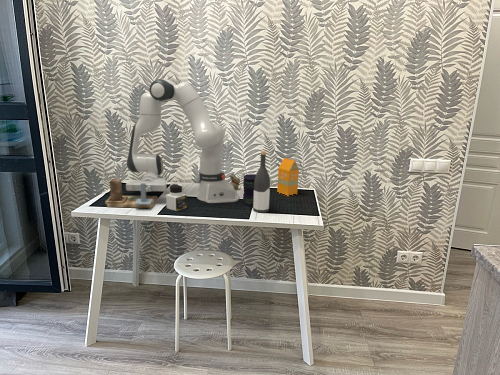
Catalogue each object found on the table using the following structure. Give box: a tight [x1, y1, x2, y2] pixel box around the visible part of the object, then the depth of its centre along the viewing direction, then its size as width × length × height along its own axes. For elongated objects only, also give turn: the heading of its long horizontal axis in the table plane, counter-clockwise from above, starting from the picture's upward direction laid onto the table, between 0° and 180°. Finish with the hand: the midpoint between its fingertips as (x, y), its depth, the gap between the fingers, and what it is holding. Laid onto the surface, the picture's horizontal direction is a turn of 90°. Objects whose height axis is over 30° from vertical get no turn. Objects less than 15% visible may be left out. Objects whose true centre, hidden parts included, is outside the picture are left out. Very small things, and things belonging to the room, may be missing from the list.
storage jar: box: [242, 173, 257, 208], centre depth 210 cm, size 10×10×15 cm
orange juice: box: [276, 157, 300, 197], centre depth 229 cm, size 8×9×20 cm
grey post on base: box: [134, 183, 153, 205], centre depth 200 cm, size 8×8×10 cm
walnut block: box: [109, 178, 123, 201], centre depth 204 cm, size 4×4×11 cm
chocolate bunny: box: [229, 172, 241, 191], centre depth 235 cm, size 6×8×10 cm
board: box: [104, 195, 158, 209], centre depth 208 cm, size 23×14×3 cm, turn 93°
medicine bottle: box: [165, 183, 188, 212], centre depth 202 cm, size 7×7×12 cm
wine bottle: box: [252, 150, 271, 214], centre depth 199 cm, size 8×8×30 cm
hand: (143, 190), depth 201 cm, fingers closed, pressing on grey post on base
